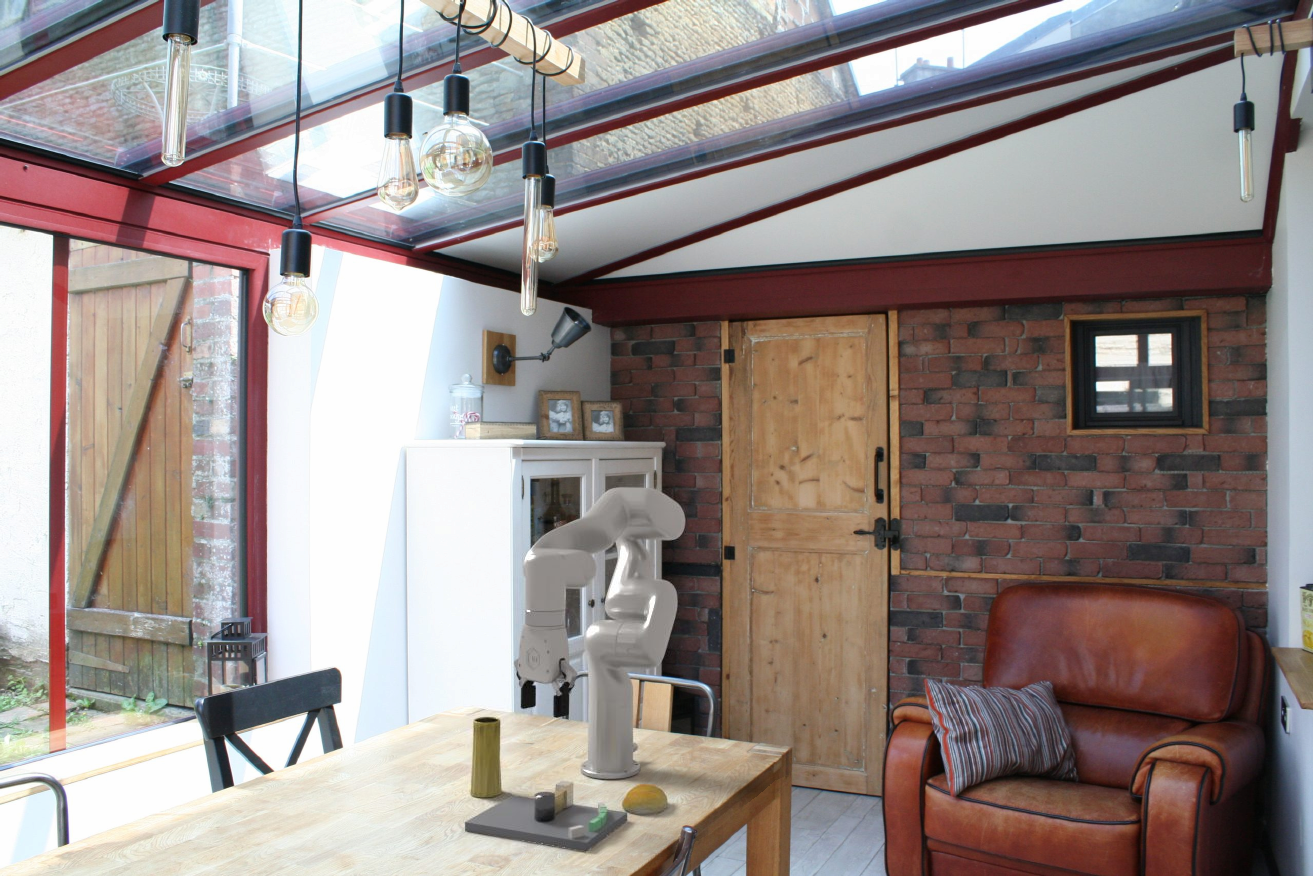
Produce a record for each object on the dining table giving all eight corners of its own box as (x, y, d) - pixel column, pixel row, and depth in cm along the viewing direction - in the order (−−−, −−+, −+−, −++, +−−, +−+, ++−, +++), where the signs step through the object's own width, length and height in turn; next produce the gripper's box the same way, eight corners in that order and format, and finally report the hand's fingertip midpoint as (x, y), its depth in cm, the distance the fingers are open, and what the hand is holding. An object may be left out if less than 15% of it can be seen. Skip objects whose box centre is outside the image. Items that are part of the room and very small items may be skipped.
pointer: (548, 822, 172) (548, 799, 172) (530, 819, 173) (530, 796, 173) (576, 804, 181) (576, 782, 181) (558, 802, 182) (559, 780, 183)
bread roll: (618, 815, 181) (618, 793, 181) (629, 800, 190) (629, 779, 190) (662, 818, 179) (662, 796, 180) (671, 802, 188) (671, 781, 188)
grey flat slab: (512, 803, 187) (513, 787, 187) (627, 821, 177) (627, 804, 177) (464, 830, 172) (465, 813, 172) (586, 851, 163) (586, 833, 163)
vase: (495, 799, 189) (495, 724, 190) (465, 797, 190) (466, 722, 191) (506, 789, 195) (506, 717, 196) (477, 787, 196) (478, 715, 197)
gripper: (501, 616, 187) (499, 707, 186) (559, 626, 175) (558, 723, 174) (532, 612, 192) (531, 701, 191) (591, 622, 180) (590, 716, 179)
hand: (544, 712), depth 183 cm, fingers open, 9 cm apart
